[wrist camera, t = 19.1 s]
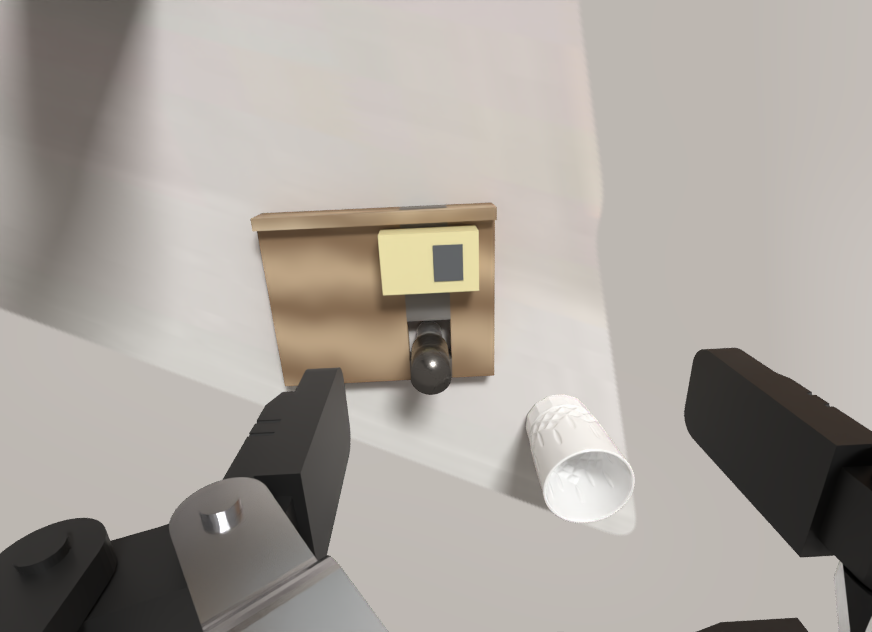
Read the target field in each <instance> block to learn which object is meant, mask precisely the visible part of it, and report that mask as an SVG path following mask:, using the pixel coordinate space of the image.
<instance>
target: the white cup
mask: <svg viewBox="0 0 872 632" xmlns="http://www.w3.org/2000/svg"><path fill="white" fill-rule="evenodd" d="M526 431H527V434H528V437H529V441H530V449H531V453H532V457H533V461H534V465H535V468H536V472H537V475H538V479H539V482H540V486H541V490H542V493H543V497H544V500H545V503H546V505H547V507H548V508H549V509H550V510H551V512H553V513H554V514H555V515H556V516H558V517H560V518H561V519H564V520H566V521H570V522H575V523H590V522H595V521H599V520H602V519H605V518H607V517H609V516H611V515H613V514H614V513H616V512H617V511H619V510H620V509H621V508H622V507H623V506H624V505H625V504H626V503H627V501H628V500H629V498H630V496H631V494H632V492H633V489H634V483H635V478H634V473H633V470H632V468H631V466H630V464H629V463H628V462H627V460H626V459H625V458H624V456H623V455H622V453H621V452H620V451H619V449H618V448H617V446H616V445H615V444H614V442H613V441H612V440H611V438H610V437H609V435H608V434H607V433H606V431H605V430H604V429H603V427H602V426H601V425H600V423H599V422H598V421H597V420H596V418H595V417H594V416H593V415H592V414H591V413H590V411H589V410H588V408H587V407H586V406H585V405H584V404H583V403H582V402H580V401H579V400H578V399H577V398H576V397H572V396H568V395H564V394H560V395H554V396H548V397H546V398H544V399H543V400H541V401H539V402H538V403H536V404H535V405H534V407H533V408H532V409H531V411H530V412H529V413H528V415H527V421H526Z"/></svg>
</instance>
